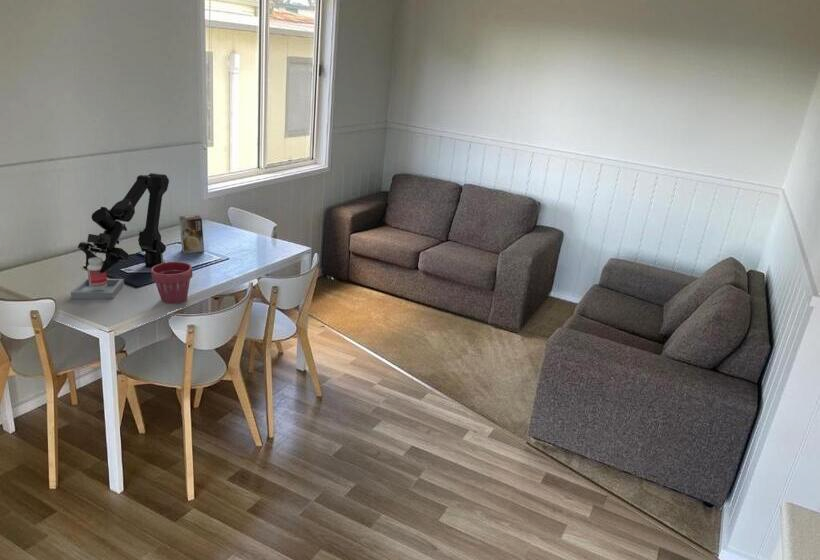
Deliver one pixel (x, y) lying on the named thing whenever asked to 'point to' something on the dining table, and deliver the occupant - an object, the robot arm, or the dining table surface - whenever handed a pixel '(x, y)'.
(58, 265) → the dining table surface
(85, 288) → the tray
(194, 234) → the coffee box
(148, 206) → the robot arm
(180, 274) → the plant pot
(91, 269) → the pill bottle
